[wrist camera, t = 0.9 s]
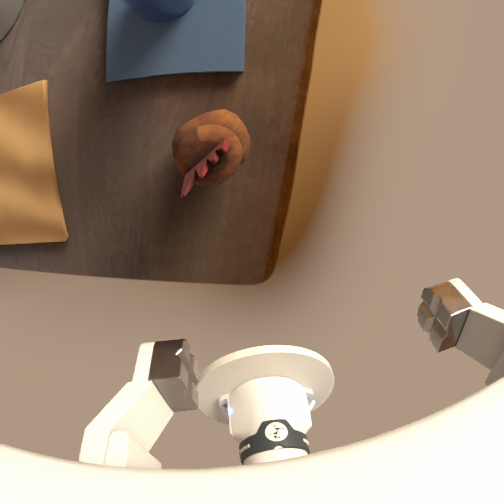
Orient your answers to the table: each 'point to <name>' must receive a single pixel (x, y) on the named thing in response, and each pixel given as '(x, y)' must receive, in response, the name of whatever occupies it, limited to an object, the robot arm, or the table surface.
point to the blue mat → (175, 41)
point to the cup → (9, 15)
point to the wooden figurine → (210, 148)
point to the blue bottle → (159, 9)
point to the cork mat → (28, 170)
